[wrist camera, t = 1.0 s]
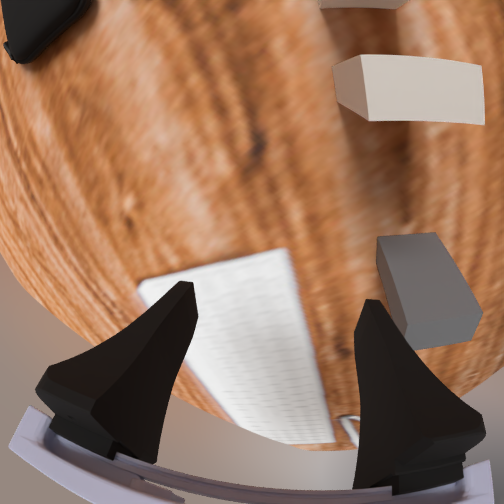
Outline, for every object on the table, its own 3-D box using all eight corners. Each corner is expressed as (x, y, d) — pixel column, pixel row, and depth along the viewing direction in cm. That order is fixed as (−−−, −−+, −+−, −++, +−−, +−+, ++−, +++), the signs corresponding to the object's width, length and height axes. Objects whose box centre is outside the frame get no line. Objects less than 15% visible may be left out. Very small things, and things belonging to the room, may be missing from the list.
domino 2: (409, 100, 15) (484, 125, 8) (337, 101, 16) (369, 120, 9) (406, 65, 14) (481, 65, 6) (331, 66, 15) (360, 54, 7)
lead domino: (431, 257, 21) (471, 340, 14) (376, 262, 22) (400, 352, 15) (435, 232, 20) (483, 312, 12) (377, 236, 21) (407, 324, 13)
